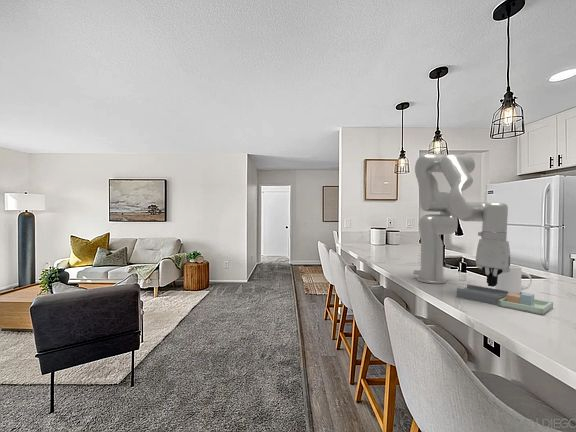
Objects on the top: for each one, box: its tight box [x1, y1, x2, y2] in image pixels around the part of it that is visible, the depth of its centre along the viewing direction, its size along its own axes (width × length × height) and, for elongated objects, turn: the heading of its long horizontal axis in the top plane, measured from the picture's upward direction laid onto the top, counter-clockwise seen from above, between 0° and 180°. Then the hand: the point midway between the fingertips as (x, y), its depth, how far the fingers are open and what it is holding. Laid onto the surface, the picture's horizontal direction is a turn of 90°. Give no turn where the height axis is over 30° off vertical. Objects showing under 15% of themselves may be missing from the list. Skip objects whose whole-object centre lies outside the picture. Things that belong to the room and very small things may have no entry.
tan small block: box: [506, 293, 520, 304], centre depth 110 cm, size 4×4×3 cm
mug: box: [495, 264, 532, 295], centre depth 128 cm, size 9×12×11 cm
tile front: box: [519, 292, 535, 306], centre depth 107 cm, size 4×4×3 cm
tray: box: [497, 297, 554, 316], centre depth 108 cm, size 12×12×2 cm
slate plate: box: [456, 283, 508, 306], centre depth 118 cm, size 14×10×4 cm
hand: (491, 285), depth 116 cm, fingers closed
